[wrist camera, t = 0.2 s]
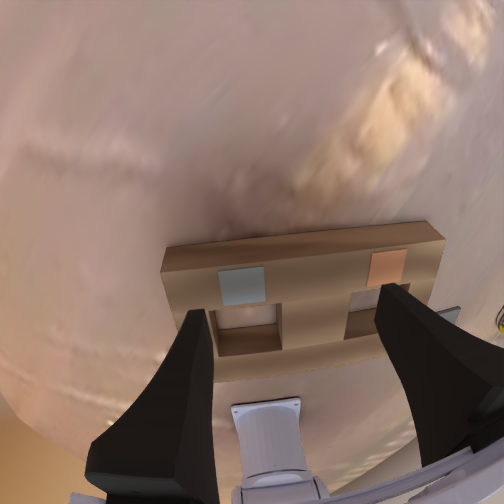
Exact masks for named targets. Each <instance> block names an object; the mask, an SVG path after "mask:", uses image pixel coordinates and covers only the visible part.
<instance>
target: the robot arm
mask: <svg viewBox="0 0 504 504" xmlns="http://www.w3.org/2000/svg"><path fill="white" fill-rule="evenodd" d="M374 323H375V325H376V328H377V331H378V334H379V337H380V340H381V342H382V344H383V346H384V348H385V350H386V352H387V354H388V356H389V358H390V360H391V362H392V364H393V366H394V368H395V370H396V372H397V374H398V376H399V378H400V380H401V383H402V385H403V388H404V390H405V393H406V396H407V399H408V403H409V406H410V409H411V413H412V416H413V420H414V424H415V428H416V433H417V438H418V443H419V449H420V456H421V464H422V468H421V469H418V470H416V471H413V472H411V473H408V474H405V475H403V476H400V477H397V478H394V479H392V480H388V481H385V482H382V483H379V484H376V485H373V486H370V487H366V488H363V489H360V490H356V491H352V492H349V493H345V494H340V495H336V496H332V497H330V496H329V492H328V489H327V486H326V484H325V482H324V481H323V480H322V479H320V478H319V477H318V476H314V477H313V475H312V471H311V470H309V471H308V469H307V464H306V460H305V455H304V450H303V445H302V440H301V435H300V431H299V426H298V424H299V414H300V405H301V400H300V398H291V399H285V400H278V401H270V402H262V403H254V404H244V405H234V406H232V407H231V412H232V415H233V419H234V422H235V426H236V430H237V433H238V437H239V442H240V454H241V465H242V476H243V479H241V481H242V488H241V486H236V487H235V489H233V490H232V493H231V502H232V504H375V503H379V502H382V501H385V500H388V499H390V498H393V497H396V496H399V495H402V494H404V493H407V492H409V491H412V490H414V489H417V488H419V487H422V486H424V485H426V484H428V483H431V482H433V481H435V480H438V479H439V478H442V477H444V476H445V477H444V478H442V479H440V480H439V481H436V482H435V483H433V484H431V485H429V486H427V487H426V488H425V489H424V490H423V491H421V492H420V493H418V494H417V495H415V496H413V497H411V498H410V499H409V500H408V502H407V503H405V504H479V503H481V502H482V501H484V500H485V499H487V498H488V497H490V496H491V495H493V494H494V493H496V492H497V491H498V490H500V489H501V488H503V487H504V348H501V347H498V346H496V345H493V344H491V343H488V342H486V341H484V340H482V339H480V338H477V337H475V336H473V335H471V334H469V333H468V332H466V331H464V330H462V329H461V328H459V327H457V326H455V325H454V324H452V323H451V322H449V321H448V320H446V319H445V318H443V317H442V316H440V315H439V314H437V313H436V312H434V311H433V310H432V309H430V308H429V307H427V306H426V305H425V304H423V303H422V302H421V301H419V300H418V299H417V298H415V297H414V296H413V295H411V294H410V293H409V292H407V291H406V290H404V289H403V288H402V287H400V286H399V285H397V284H396V283H388V284H382V285H381V290H380V295H379V300H378V304H377V309H376V313H375V317H374ZM213 381H214V352H213V342H212V338H211V334H210V330H209V325H208V321H207V317H206V313H205V308H204V309H194V310H189V311H188V312H187V313H186V316H185V319H184V321H183V323H182V326H181V328H180V330H179V332H178V334H177V336H176V338H175V340H174V342H173V344H172V346H171V348H170V350H169V352H168V354H167V355H166V357H165V359H164V361H163V362H162V364H161V366H160V367H159V369H158V371H157V372H156V374H155V375H154V377H153V378H152V380H151V381H150V382H149V384H148V385H147V387H146V388H145V389H144V391H143V392H142V393H141V394H140V396H139V397H138V398H137V399H136V401H135V402H134V403H133V404H132V405H131V406H130V407H129V409H128V410H127V411H126V412H125V413H124V414H123V415H122V416H121V417H120V418H119V419H118V420H117V421H116V422H115V423H114V424H113V425H112V426H111V427H110V428H108V429H107V430H106V431H105V432H104V433H103V434H101V435H100V436H99V437H98V438H97V439H95V440H94V441H93V442H92V443H91V446H90V449H89V452H88V457H87V462H86V469H85V478H86V479H87V480H88V481H89V482H90V483H91V484H93V485H95V486H96V487H98V488H99V489H101V490H103V491H104V492H106V493H107V499H106V500H104V499H101V498H98V497H93V496H87V495H83V494H78V493H74V492H72V493H71V494H70V502H69V504H220V501H219V494H218V486H217V478H216V469H215V459H214V448H213V434H212V399H213Z"/></svg>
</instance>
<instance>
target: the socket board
mask: <svg viewBox="0 0 504 504" xmlns="http://www.w3.org/2000/svg"><path fill="white" fill-rule="evenodd" d="M445 242H446V239H445V238H444V237H443V236H442V235H441V234H440V233H439V232H438V231H437V230H435V229H434V228H433V227H432V226H431V225H430V224H429V223H428V222H427V221H420V222H409V223H398V224H387V225H377V226H366V227H356V228H346V229H336V230H326V231H316V232H306V233H296V234H287V235H277V236H268V237H259V238H249V239H240V240H231V241H222V242H213V243H205V244H196V245H187V246H179V247H170V248H166V252H165V255H164V259H163V263H162V267H161V271H160V274H161V278H162V281H163V285H164V288H165V292H166V295H167V298H168V302H169V305H170V308H171V311H172V314H173V318H174V321H175V324H176V327H177V330H178V332H179V330H180V328H181V326H182V323H183V321H184V319H185V316H186V313H187V312H188V311H189V310H194V309H204V308H205V313H206V317H207V321H208V325H209V330H210V334H211V338H212V342H213V352H214V381H213V383H217V382H229V381H239V380H249V379H258V378H266V377H274V376H281V375H288V374H295V373H301V372H307V371H313V370H319V369H325V368H330V367H335V366H340V365H345V364H350V363H355V362H360V361H364V360H369V359H373V358H377V357H382V356H386V355H388V354H387V352H386V350H385V348H384V346H383V344H382V342H381V340H380V337H379V334H378V331H377V328H376V325H375V323H374V317H375V313H376V309H377V308H373V309H368V310H363V311H357V312H351V313H348V311H349V305H350V299H351V293H354V292H360V291H366V290H372V289H378V288H381V285H382V284H388V283H396V284H397V285H399V286H400V287H402V288H403V289H404V290H406V291H407V292H409V293H410V294H411V295H413V296H414V297H415V298H417V299H418V300H419V301H421V302H422V303H423V304H425V305H426V306H427V304H428V301H429V298H430V295H431V291H432V288H433V285H434V282H435V279H436V275H437V272H438V268H439V265H440V261H441V258H442V254H443V250H444V246H445ZM267 304H276V313H277V324H270V325H262V326H254V327H245V328H236V329H226V330H218V327H217V322H216V317H215V313H214V310H223V309H232V308H242V307H250V306H259V305H267Z"/></svg>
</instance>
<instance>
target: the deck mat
mask: <svg viewBox="0 0 504 504" xmlns="http://www.w3.org/2000/svg"><path fill="white" fill-rule="evenodd" d="M460 310H461V308H460V307H459V306H458V307H455V308H451V309H447V310H444V311H440V312H436V313H437V314H439V315H440V316H442V317H443V318H445V319H446V320H448V321H449V322H451V323H452V324H455V321H456V319H457V317H458V314H459V312H460Z"/></svg>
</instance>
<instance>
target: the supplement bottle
mask: <svg viewBox="0 0 504 504" xmlns="http://www.w3.org/2000/svg"><path fill="white" fill-rule="evenodd" d="M497 327H498V329H499V330H500V331H501V333H502V334H503V335H504V308H503V309H502V311H501V312H500V314H499V316H498V318H497Z"/></svg>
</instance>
